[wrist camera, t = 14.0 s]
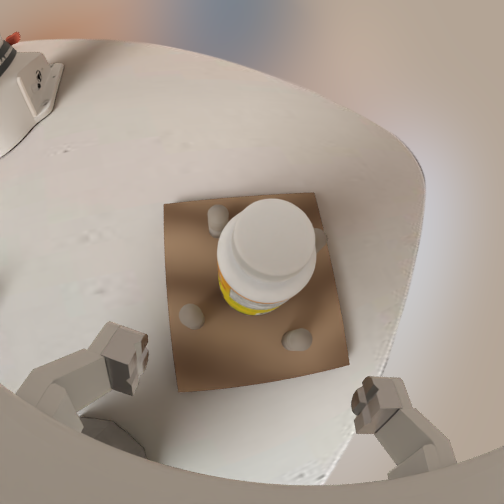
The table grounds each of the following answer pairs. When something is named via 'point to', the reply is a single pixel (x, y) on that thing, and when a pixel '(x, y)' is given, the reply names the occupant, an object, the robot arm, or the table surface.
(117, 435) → the coffeepot
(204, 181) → the table surface
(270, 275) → the supplement bottle
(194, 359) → the peg stand
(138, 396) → the table surface
